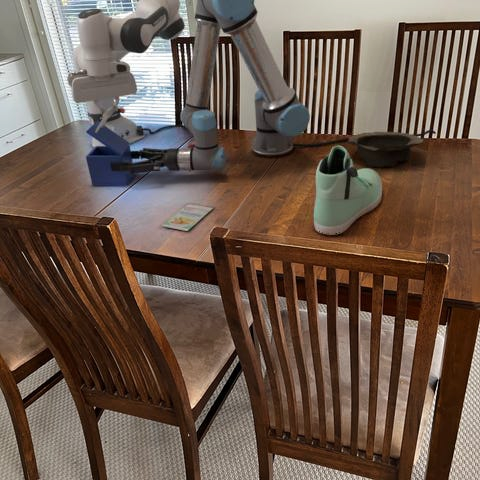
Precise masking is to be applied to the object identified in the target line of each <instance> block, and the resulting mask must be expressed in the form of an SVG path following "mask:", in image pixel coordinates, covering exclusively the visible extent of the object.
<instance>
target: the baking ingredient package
mask: <svg viewBox="0 0 480 480" xmlns="http://www.w3.org/2000/svg"><path fill="white" fill-rule="evenodd" d="M213 209H214V207H210V206H203V205H197V204H192V203H188V204H186V205H185V206H183V208H181V209H180V210H179V211H178V212H176V213H175V214H174V215H171V217H170V218H168V219H167V220H166V221H165V222H164V223H162V225H160V226H161V227H165V228H169V229H175V230H179V231H186V232H188V231H189V230H190V229H192V228H193V227H194V226H195V225H196V224H197V223H198V222H199V221H201V219H203V218H204V217H205V216H206V215H207V214H208V213H210V212H211V211H212V210H213Z"/></svg>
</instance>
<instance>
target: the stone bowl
mask: <svg viewBox="0 0 480 480" xmlns="http://www.w3.org/2000/svg"><path fill="white" fill-rule="evenodd" d="M348 138H349V140H348V141H347V143H348V144H351V145H353V146H356V150H357V151H356V152H357V154H358V155H360V157H361V159H363V160H364V161H366V164H367V166H368V167H372V168H375V167H376V168H385V167H394V166H396V165H397V164H398V162H406V161H408V160H409V158H410V151H411V148H413V147H416V146H419V145H420V144H422V143H424V142H425V141H424V139H422V138H420V136H418V137H417V136H414V135H411V133H407V132H397V131H373V132H362V133H358V134H353V135H351V136H349V137H348Z"/></svg>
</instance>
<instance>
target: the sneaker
mask: <svg viewBox="0 0 480 480" xmlns="http://www.w3.org/2000/svg"><path fill="white" fill-rule="evenodd" d="M317 165H318V166H317V168H316V172H315V201H314V207H313V225H314V229H315V231H316V232H318V233H320V234H323V235H326V236H327V235H328V236H336V235H339V234H342V233H344V232H345V231H347V230H348V229H349V228H350V227H351V226H352V225H353V224H354V222H356V221H357V220H358V219H359V218H360V217H362V216H363V215H365V214H367V213H370V212H372V210H374V209H375V208H377V207H378V205H380V203H381V200H382V196H383V184H382V183H383V182H382V179H381V176H380V175H379V173H378V172H377V171H376V170H374V169H372V168H367V167H365V168H358V169H357V168H355V167H354V161H353V159H352V158H351V156H350V153H349V152H348V150H347V148H345V147H344V146H342V145H334V146H333V147H331V149H330V151H329V154H327V155H326V156H325V157H324V158H322V159H321V160H320V161H319V163H318V164H317ZM343 230H344V231H343ZM319 231H320V232H319ZM322 232H323V233H322ZM339 232H340V233H339ZM326 233H327V234H326ZM328 233H329V234H328ZM335 233H337V234H335Z"/></svg>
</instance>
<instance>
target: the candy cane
mask: <svg viewBox="0 0 480 480" xmlns="http://www.w3.org/2000/svg"><path fill="white" fill-rule="evenodd" d="M186 148H196V147H195V141H193V142H190V143H188V144H187V147H186Z"/></svg>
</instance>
